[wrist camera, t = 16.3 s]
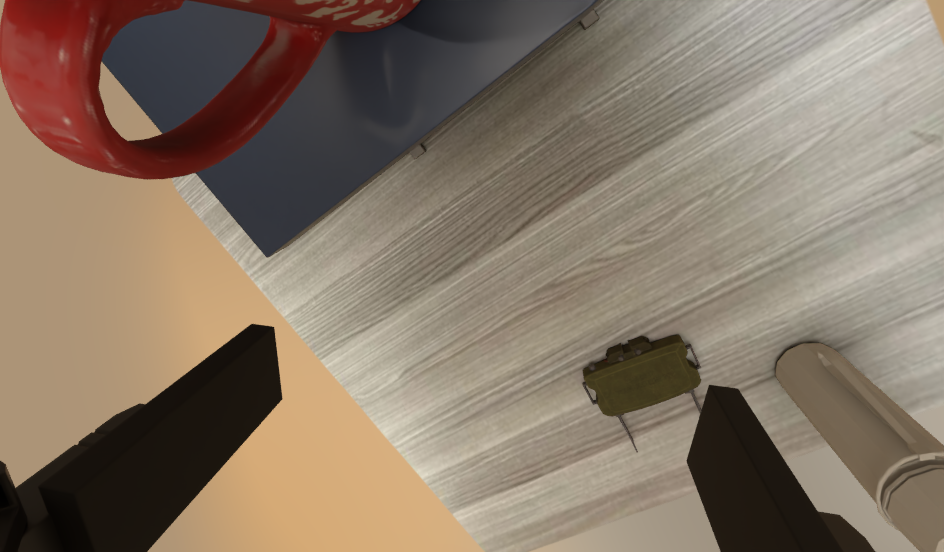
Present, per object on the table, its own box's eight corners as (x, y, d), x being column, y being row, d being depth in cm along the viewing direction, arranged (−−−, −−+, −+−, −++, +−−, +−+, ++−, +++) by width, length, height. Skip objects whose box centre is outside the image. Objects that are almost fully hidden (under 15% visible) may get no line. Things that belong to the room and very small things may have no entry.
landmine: (685, 331, 54) (729, 427, 57) (679, 320, 56) (721, 414, 60) (573, 372, 58) (621, 460, 62) (572, 361, 60) (618, 446, 64)
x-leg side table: (424, 169, 54) (253, 268, 23) (349, 64, 51) (35, 12, 20) (624, 19, 46) (791, -150, 14) (548, -117, 43) (549, -708, 11)
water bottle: (845, 382, 56) (1054, 583, 33) (774, 396, 58) (924, 595, 35) (835, 317, 53) (1055, 486, 30) (761, 334, 55) (913, 504, 32)
